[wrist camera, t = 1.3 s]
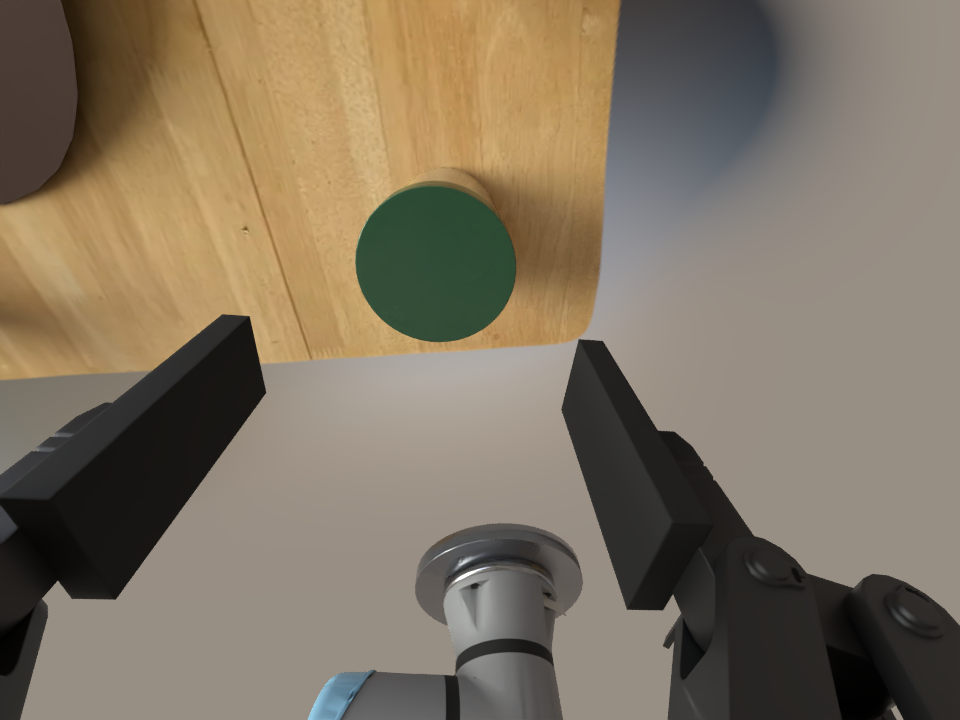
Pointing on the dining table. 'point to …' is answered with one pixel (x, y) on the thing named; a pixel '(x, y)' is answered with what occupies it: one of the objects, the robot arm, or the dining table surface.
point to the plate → (34, 94)
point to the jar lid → (436, 261)
